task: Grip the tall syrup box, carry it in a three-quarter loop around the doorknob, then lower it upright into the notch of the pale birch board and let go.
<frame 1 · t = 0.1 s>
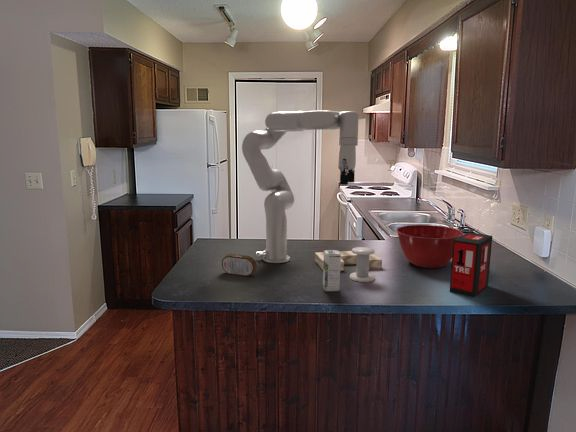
hand: (347, 183, 190), 37 cm above the countertop, tool pointing down, fingers open, 9 cm apart
syrup box: (331, 289, 172), on the countertop
notched board: (347, 264, 203), on the countertop
cleaning product box: (468, 289, 173), on the countertop
mixing bowl: (427, 264, 205), on the countertop
tin: (238, 275, 188), on the countertop
doorknob: (362, 278, 184), on the countertop
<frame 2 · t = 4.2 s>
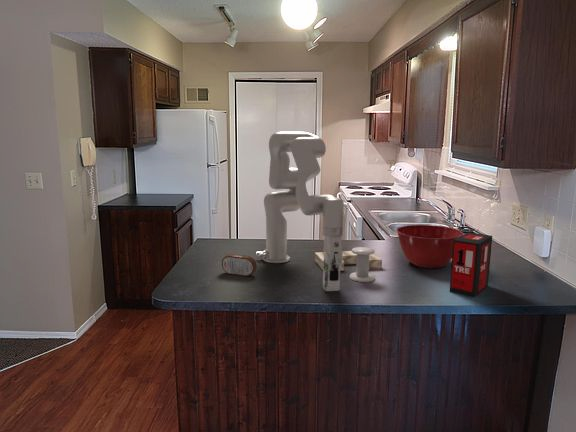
hand: (331, 277, 171), 5 cm above the countertop, tool pointing down, fingers closed on syrup box, 6 cm apart
syrup box: (331, 289, 172), on the countertop, touching gripper
everything else where it was.
when the fingers open (6 cm above the countertop, at t = 14.2 s): syrup box drops 1 cm, on the countertop.
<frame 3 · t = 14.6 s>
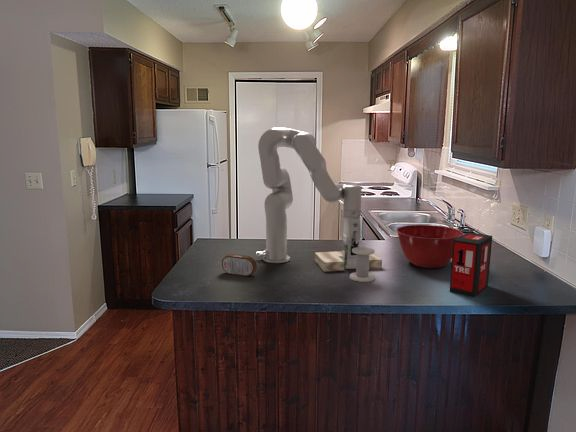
hand: (350, 252, 198), 7 cm above the countertop, tool pointing down, fingers open, 9 cm apart
syrup box: (349, 267, 199), on the countertop
everything else where it was.
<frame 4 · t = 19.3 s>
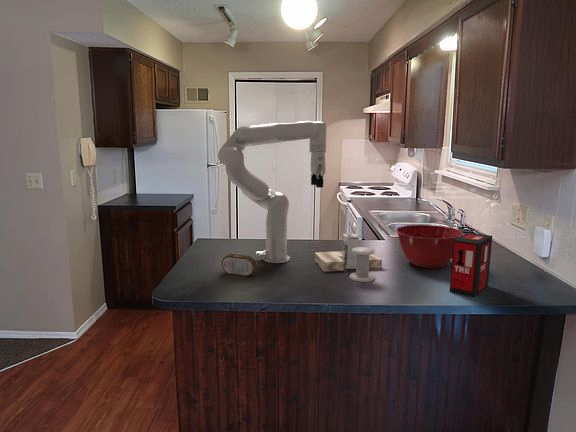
hand: (316, 186, 212), 33 cm above the countertop, tool pointing down, fingers open, 9 cm apart
nothing on the countertop moved.
at the end: syrup box 0.3 cm from the target spot on the notched board, point 0.0 cm above the notched board's base; syrup box tilted 0°; the gripper is holding nothing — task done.
